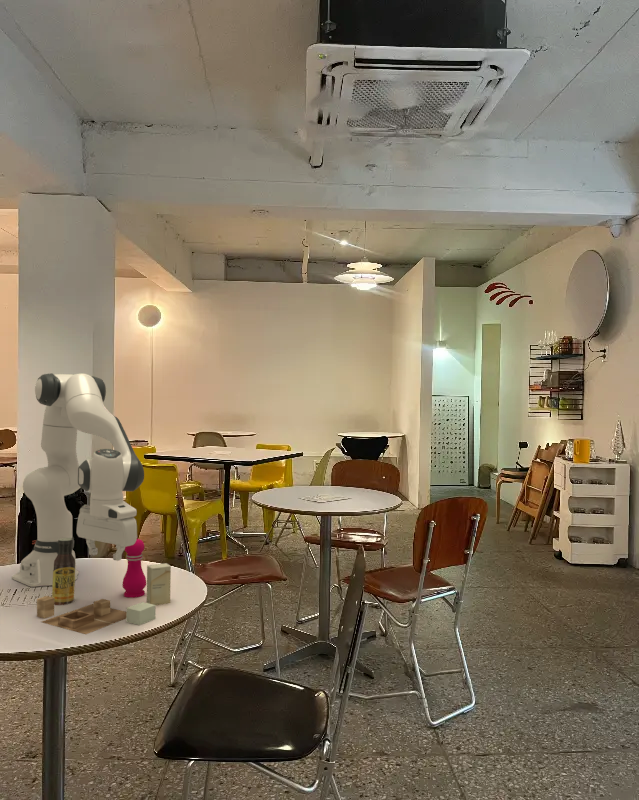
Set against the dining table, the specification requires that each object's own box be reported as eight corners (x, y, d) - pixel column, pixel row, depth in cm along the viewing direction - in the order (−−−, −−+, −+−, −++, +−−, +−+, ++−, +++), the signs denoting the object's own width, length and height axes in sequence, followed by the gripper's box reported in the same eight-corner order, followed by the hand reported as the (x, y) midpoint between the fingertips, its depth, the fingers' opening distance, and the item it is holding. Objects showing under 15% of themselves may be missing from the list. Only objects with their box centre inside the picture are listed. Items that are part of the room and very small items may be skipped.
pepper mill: (139, 602, 202) (139, 536, 202) (118, 600, 203) (118, 535, 203) (150, 594, 209) (150, 531, 209) (129, 593, 211) (129, 530, 210)
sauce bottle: (53, 609, 195) (53, 542, 194) (50, 603, 200) (51, 538, 200) (76, 606, 198) (76, 540, 197) (73, 600, 203) (73, 536, 203)
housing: (126, 625, 182) (126, 608, 182) (142, 618, 187) (142, 602, 187) (139, 628, 179) (139, 611, 179) (155, 622, 185) (155, 604, 185)
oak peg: (36, 620, 186) (36, 598, 186) (46, 616, 188) (46, 595, 188) (44, 622, 184) (44, 600, 184) (54, 618, 187) (54, 597, 187)
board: (40, 625, 181) (40, 609, 181) (92, 607, 197) (92, 592, 197) (85, 638, 172) (85, 620, 172) (136, 617, 188) (136, 601, 188)
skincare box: (150, 609, 195) (150, 568, 195) (146, 605, 199) (146, 565, 199) (171, 606, 198) (171, 565, 198) (166, 602, 202) (166, 562, 202)
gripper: (71, 505, 187) (70, 553, 187) (124, 514, 177) (122, 565, 177) (89, 502, 192) (88, 549, 192) (141, 510, 182) (139, 560, 182)
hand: (105, 557), depth 184 cm, fingers open, 8 cm apart
